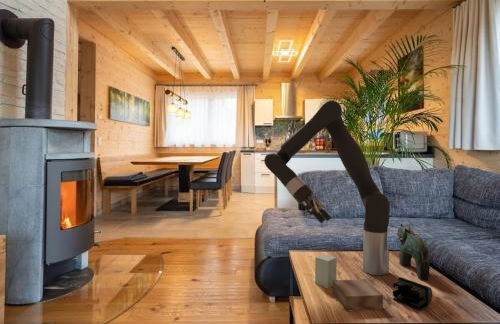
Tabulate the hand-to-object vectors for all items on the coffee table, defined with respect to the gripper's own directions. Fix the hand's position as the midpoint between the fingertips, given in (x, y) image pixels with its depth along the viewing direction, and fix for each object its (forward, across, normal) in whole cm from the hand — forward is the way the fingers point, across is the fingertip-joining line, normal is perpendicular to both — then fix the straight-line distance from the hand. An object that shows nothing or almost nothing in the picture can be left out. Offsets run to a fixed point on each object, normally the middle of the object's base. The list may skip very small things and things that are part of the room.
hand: (326, 220), depth 121 cm
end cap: (+38, -3, -4) cm, 38 cm away
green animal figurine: (+36, +27, -5) cm, 45 cm away
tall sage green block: (+17, -3, +16) cm, 23 cm away
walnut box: (+27, -11, +8) cm, 30 cm away
